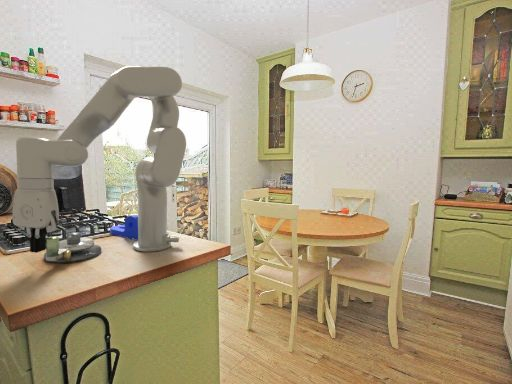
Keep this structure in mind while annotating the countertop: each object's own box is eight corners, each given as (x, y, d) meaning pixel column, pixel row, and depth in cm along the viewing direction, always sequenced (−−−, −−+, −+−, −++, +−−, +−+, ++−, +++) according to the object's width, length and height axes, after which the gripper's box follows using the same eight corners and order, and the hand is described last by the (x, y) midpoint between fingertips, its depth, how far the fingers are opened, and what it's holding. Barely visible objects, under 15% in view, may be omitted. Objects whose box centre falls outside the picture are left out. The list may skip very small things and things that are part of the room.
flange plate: (64, 241, 90) (63, 223, 89) (99, 241, 91) (99, 223, 91) (27, 261, 72) (26, 239, 71) (72, 261, 74) (71, 239, 73)
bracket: (153, 235, 111) (154, 213, 110) (137, 240, 103) (137, 217, 102) (123, 228, 118) (123, 208, 117) (105, 232, 111) (105, 211, 109)
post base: (108, 246, 94) (108, 236, 93) (86, 264, 78) (86, 251, 78) (61, 246, 92) (61, 235, 91) (29, 264, 76) (28, 251, 75)
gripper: (-3, 183, 70) (0, 252, 72) (47, 187, 67) (49, 258, 69) (26, 181, 77) (28, 244, 79) (72, 185, 75) (73, 249, 77)
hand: (38, 250), depth 74 cm, fingers closed
